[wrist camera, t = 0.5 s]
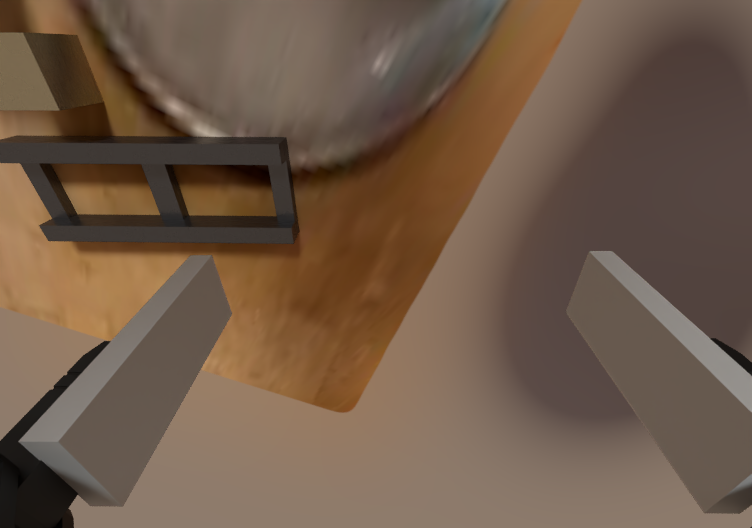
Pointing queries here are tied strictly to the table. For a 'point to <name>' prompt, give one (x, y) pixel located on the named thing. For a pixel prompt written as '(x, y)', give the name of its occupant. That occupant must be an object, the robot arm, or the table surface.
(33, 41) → the brushed top tan cube
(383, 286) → the table surface
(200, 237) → the rail
